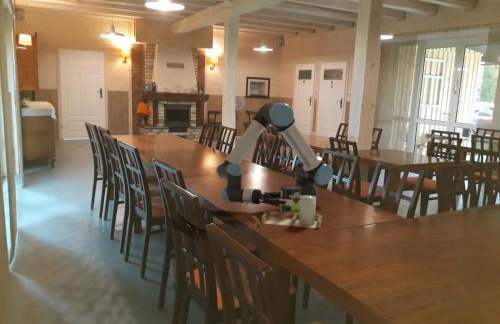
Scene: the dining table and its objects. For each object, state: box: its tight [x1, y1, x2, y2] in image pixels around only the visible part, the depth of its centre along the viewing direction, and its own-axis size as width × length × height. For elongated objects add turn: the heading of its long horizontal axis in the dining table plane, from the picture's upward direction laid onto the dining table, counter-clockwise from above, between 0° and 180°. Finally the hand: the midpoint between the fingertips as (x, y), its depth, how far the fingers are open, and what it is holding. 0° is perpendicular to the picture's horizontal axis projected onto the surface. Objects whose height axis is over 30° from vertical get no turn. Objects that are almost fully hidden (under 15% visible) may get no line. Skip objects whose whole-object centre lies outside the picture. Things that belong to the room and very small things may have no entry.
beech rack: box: [260, 210, 323, 229], centre depth 180 cm, size 26×13×4 cm, turn 76°
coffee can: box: [279, 184, 302, 213], centre depth 195 cm, size 10×10×14 cm
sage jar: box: [299, 195, 317, 225], centre depth 177 cm, size 7×7×12 cm
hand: (294, 199), depth 194 cm, fingers open, 13 cm apart
